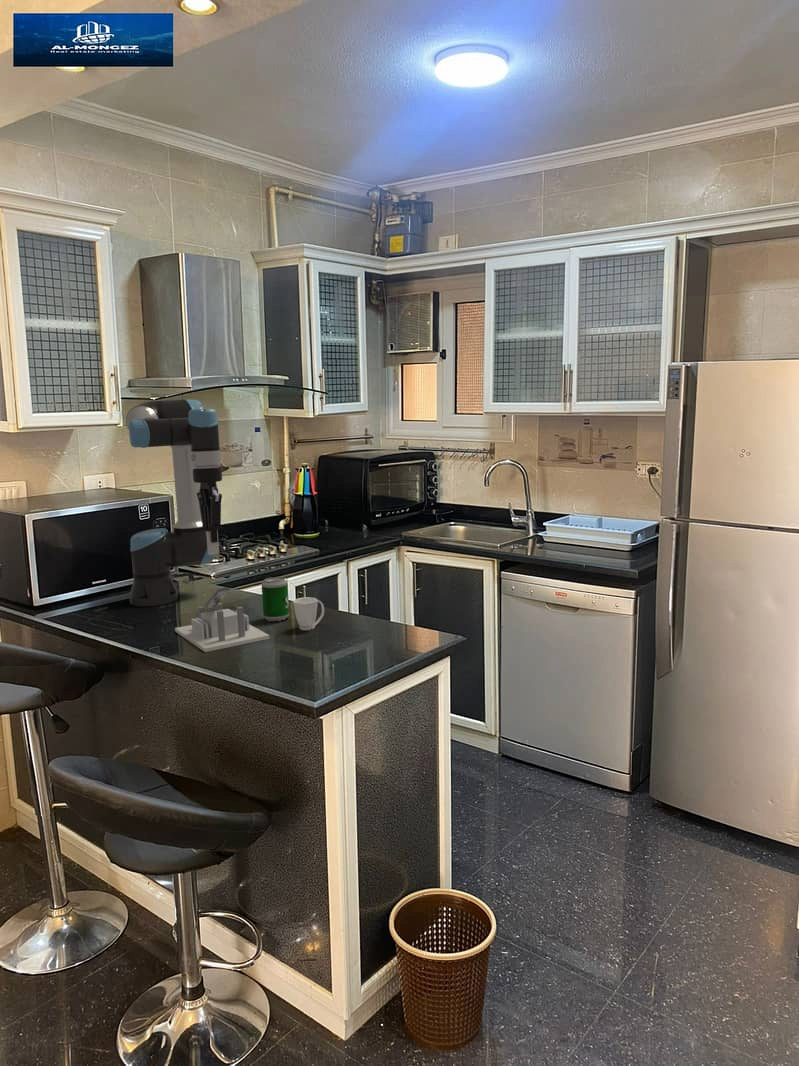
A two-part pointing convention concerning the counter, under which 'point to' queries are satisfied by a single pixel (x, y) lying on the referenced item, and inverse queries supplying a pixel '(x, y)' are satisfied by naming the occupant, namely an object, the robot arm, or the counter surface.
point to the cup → (307, 612)
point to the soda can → (275, 599)
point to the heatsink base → (220, 629)
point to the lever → (216, 597)
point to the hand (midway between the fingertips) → (213, 554)
